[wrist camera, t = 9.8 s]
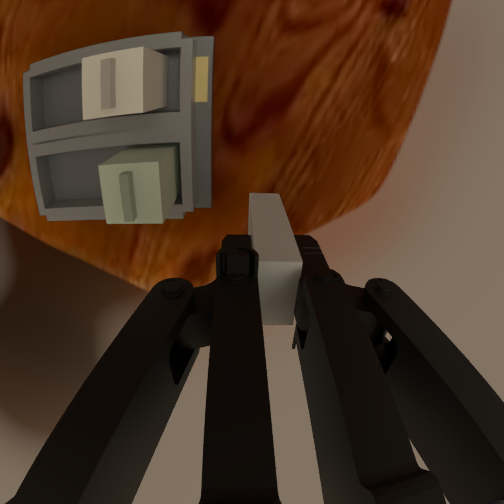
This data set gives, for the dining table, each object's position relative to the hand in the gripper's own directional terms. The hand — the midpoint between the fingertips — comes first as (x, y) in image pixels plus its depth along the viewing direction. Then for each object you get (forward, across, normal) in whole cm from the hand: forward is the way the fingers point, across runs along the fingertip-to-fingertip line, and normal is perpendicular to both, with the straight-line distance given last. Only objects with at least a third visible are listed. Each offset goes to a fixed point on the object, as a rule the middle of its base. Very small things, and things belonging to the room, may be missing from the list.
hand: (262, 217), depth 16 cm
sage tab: (+9, -8, 0) cm, 12 cm away
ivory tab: (+9, -9, +8) cm, 14 cm away
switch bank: (+10, -12, +4) cm, 16 cm away
